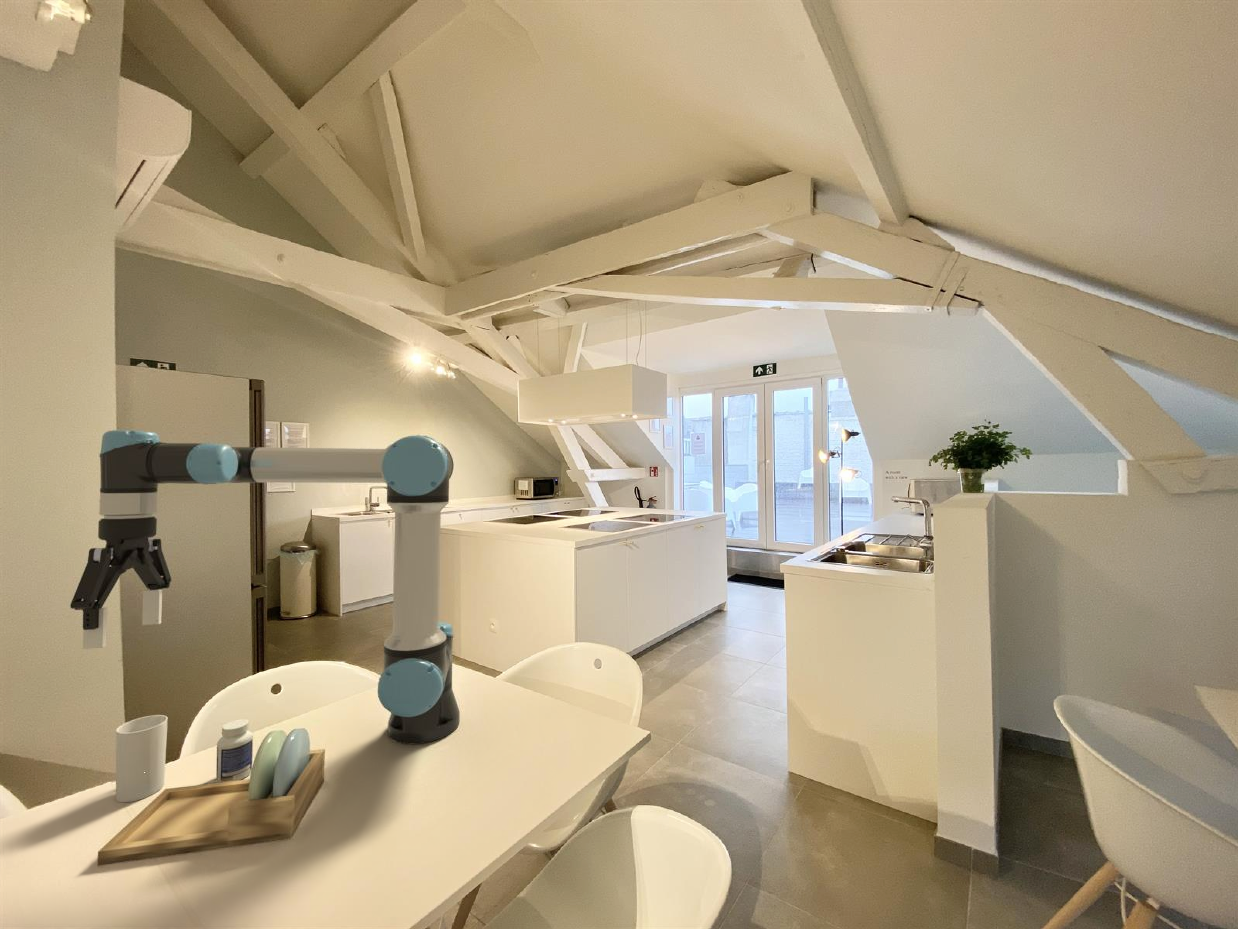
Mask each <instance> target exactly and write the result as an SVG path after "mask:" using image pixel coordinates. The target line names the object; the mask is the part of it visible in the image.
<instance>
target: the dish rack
mask: <svg viewBox="0 0 1238 929" xmlns="http://www.w3.org/2000/svg"><path fill="white" fill-rule="evenodd" d="M325 753H326V749H325V748H323V749H322V748H321V749H313V750H312V749H310V756H309V763H308V765H307V766H306V768H305V769H304V771H303V772H302V774H301V775H300V777H299V778H298V779H297V781H296V782H295V784H294V785H293V787H292V788H291V790H290V791H289V793H288V794H287V796H283V797H275V798H273V791H272V792H271V794H270V795H269V796H268V798H267V799H259V800H250V801H249V798H248V792H249V781H250V778H249V779H242V780H239V781H230V782H222V783H218V782H215V783H213V782H212V783H205V784H198V785H197V784H196V785H189V786H187V785H186V786H179V787H171V788H165V789H164V790H163V791H162V792H161V793H160V794H158V796H156V797H155V798H154V799H153V800H152V801H151V802H150V803H149V804H148V805H147V806H145V807H144V808H143V809H142V810H141V811H140V812H139V813H138V814H137V815H136V816H134V818H133V819H131V820H130V822H128V823H127V824H126V825H125V826H124V827H123V828H122V829H120V830H119V832H118V833H116V834H115V835H114V836H113V837H112V838H111V839H110V840H109V841H108V842H106V844H105V845H104V846H102V848H100V849H99V850H98V851H97V867H99V866H105V865H113V864H119V863H127V862H128V863H129V862H134V861H140V860H148V859H155V858H162V857H163V858H164V857H170V856H176V855H185V854H190V853H199V852H206V851H214V850H221V849H227V848H229V849H230V848H235V847H243V846H249V845H250V846H251V845H257V844H262V843H263V844H264V843H270V842H277V841H278V842H279V841H285V840H290V839H292V838H293V836H294V834H295V833H296V831H297V830H298V827H299V826H300V824H301V822H302V821H303V819H304V817H305V816H306V813H307V812H308V810H309V808H310V807H311V805H312V804H313V801H314V800H315V798H316V796H317V795H318V793H319V791H320V790H321V788H322V786H323V785H324V783H325V762H326V761H325V757H326V756H325Z"/></svg>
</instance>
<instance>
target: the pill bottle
mask: <svg viewBox="0 0 1238 929" xmlns="http://www.w3.org/2000/svg"><path fill="white" fill-rule="evenodd" d="M249 722H250V721H249V720H248V719H243V718H242V719H235V720H232V721H229V722H227V723H224V724H223V725H222V727H221V735H222V736H221V737H220V738H219V739H218V741H217V743H216V779H215V780H216V783H222V782H230V781H239V780H244V779H245V778H247V777H249V775H251V770H252V766H253V746H254V745H253V744H254V743H253V741H254V736H253V734H254V733H253V732H251V731H250V730H249V727H250V726H249Z"/></svg>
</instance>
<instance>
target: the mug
mask: <svg viewBox="0 0 1238 929" xmlns="http://www.w3.org/2000/svg"><path fill="white" fill-rule="evenodd" d="M167 736H168V716H166V715H163V714H155V715H153V714H152V715H147V716H142V717H137V718H135V719H132V720H130V721H127V722H124V723H123V724H121V725H119V726H118V727H117V728H116V729H115V798H116V799H115V800H116V801H117V802H118V803H119V802H120V803H131V802H135V801H139V800H144V799H146V798H147V797H150V796H153V795H155V793H158V792H159V791H160V790H161V789H162V788H163V787H164V785H165V772H166V755H167V754H166V753H167V739H168V738H167ZM144 772H145V773H144Z"/></svg>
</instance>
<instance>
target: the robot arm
mask: <svg viewBox="0 0 1238 929" xmlns="http://www.w3.org/2000/svg"><path fill="white" fill-rule="evenodd" d="M101 438H102V439H101V448H100V452H99V454H98V455H99V457H100V458H99V461H100V463H99V464H100V465H99V466H100V488H99V508H98V509H99V511H98V515H100V516H101V517H103V518H100V520H98V526H97V527H98V530H97V534H98V535H97V537H98V539H99V540H101V541H105V542H106V543H105V547H92V548H90V549H89V551H88V556H87V563H86V566H85V567H84V568H85V569H83V573H82V575H81V578H80V580H79V583H78V584H77V588H76V590H75V592H74V594H73V597H72V600H71V602H70V609H71V610H72V609H74V610H75V611H82V628H83V629H82V630H83V633H82V634H83V635H82V636H83V638H82V649H83V650H87V649H89V650H90V649H103V648H106V646H107V631H108V630H107V628H108V627H107V625H108V623H107V622H108V607H107V606H106V607H103V606H104V605H105V603H106V601H107V599H108V598H109V595H110V594H111V593H112V591H113V589H114V587H115V585H116V584H117V582H118V581H119V579H120V578H121V575H122V574H124V573H125V574H126V572H127V570H131V569H133V570H134V572H135V573H136V574H137V575H138V577H139V579H140V580H141V582H142V583H143V585H144V586H145V587H146V589H144V590H142V613H141V614H142V617H141V618H142V620H141V625H142V626H148V625H161V624H162V611H163V608H162V607H163V589H169V588H170V587H171V582H172V576H171V573H170V571H169V568H168V564H167V562H166V559H165V556H164V552H163V549H162V539H161V538H154V537H155V536H156V535H157V530H158V529H157V525H158V524H157V523H158V521H157V520H158V518H156V517H155V516H154V515H155V514H157V513H158V487H159V484H186V485H188V484H189V485H190V484H191V485H192V484H194V485H196V484H198V485H199V484H202V485H207V486H208V485H217V484H229V483H230V484H243V483H244V484H246V483H247V484H248V483H249V484H250V483H251V484H253V483H255V484H256V483H283V484H284V483H289V484H291V483H293V484H294V483H297V484H298V483H301V484H302V483H305V484H306V483H313V484H314V483H315V484H317V483H319V484H320V483H327V484H328V483H331V484H334V483H338V484H341V483H343V484H344V483H345V484H346V483H349V484H351V483H356V484H357V483H358V484H360V483H361V484H362V483H363V484H365V483H367V484H368V483H370V484H371V483H372V484H374V483H377V484H383V483H384V484H386V504H387V505H388V506H389V507H390V508H391V509H392V510H393V512H394V541H393V542H394V543H393V544H394V548H393V550H394V551H393V600H392V602H393V603H392V605H393V606H392V632H391V634H390V635H389V636H388V637H387V638H386V639H385V640H384V643H383V667H382V668H383V670H382V673H381V675H380V677H379V678H378V679H379V680H378V682H377V697H378V701H379V702H380V704H381V705H382V707H383V708H384V709H386V710H387V711H388V712H389V713H390V716H389V719H388V722H387V736H388V738H389V739H390V740H392V741H394V742H396V743H399V744H406V745H416V744H425V743H430V742H433V741H437V740H440V739H442V738H444V737H447V736H448V735H450V734H451V733H453V732H454V731H456V729H458V727H459V725H460V719H461V718H460V717H461V716H460V712H461V711H460V708H459V706H458V703H457V700H456V697H455V693H454V691H453V638H454V637H455V636H454V632H453V629H454V628H453V626H452V624H451V623H449V622H445V621H440V579H441V578H440V573H441V563H440V562H441V525H442V524H441V523H442V522H441V519H442V517H441V514H442V513H441V512H442V511H443V509H444V508H445V507H446V506H447V505H449V503H450V501H449V500H450V492H449V491H450V480H451V477H452V475H453V472H454V458H453V455H452V453H451V452H450V451H449V450H448V448H447V447H446V446H445V445H444V444H443V443H440V442H439V441H437V440H436V439H435V438H432V437H431V436H430V437H429V436H427V435H420V434H418V435H417V434H416V435H409V436H405V437H401V438H399V439H397V440H396V441H394V442H393V443H392V444H389V445H388V446H387V447H386V448H347V447H346V448H345V447H344V448H341V447H340V448H339V447H338V448H336V447H335V448H334V447H323V448H322V447H267V446H266V447H265V446H264V447H263V446H262V447H257V446H255V447H252V446H230V445H228V444H224V443H215V442H214V443H213V442H201V443H199V442H198V443H197V442H194V443H193V442H183V443H182V442H176V443H175V442H171V443H170V442H163V441H162V442H161V440H160V437H159V434H158V433H156V432H153V431H143V430H126V429H125V430H123V429H121V430H120V429H119V430H116V429H113V430H108V431H106V432H104V433H103V434H102V437H101Z"/></svg>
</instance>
